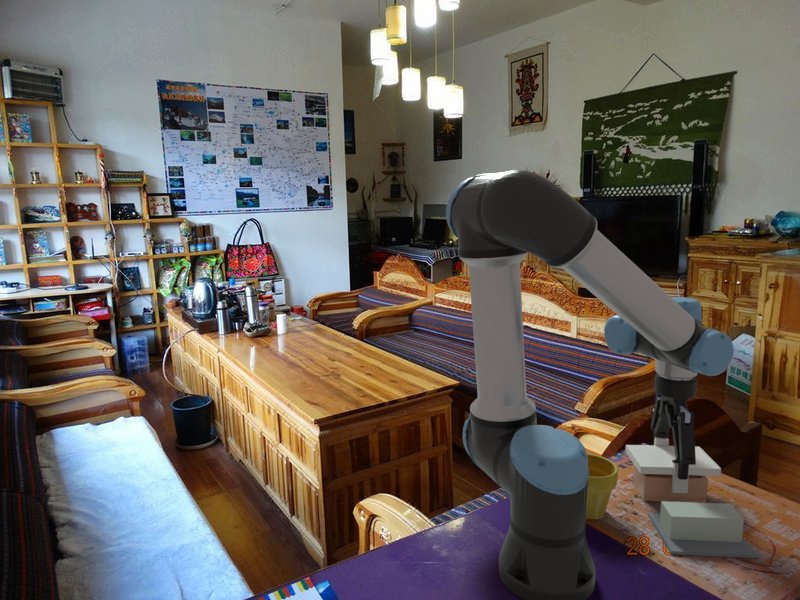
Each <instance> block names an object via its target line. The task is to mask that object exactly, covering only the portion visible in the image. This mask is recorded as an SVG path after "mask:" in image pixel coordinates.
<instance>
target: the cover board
mask: <svg viewBox="0 0 800 600" xmlns="http://www.w3.org/2000/svg"><path fill="white" fill-rule="evenodd" d="M624 452H625V453H626V455H627V456H628V457H629V459H630V461H631V462H632V464H633V466H634V465H635V466H636V468H637V469H638V471H639V472H640V474H667V475H673V462H672V460H676V456H675V449H674V445H669V446H654V445H653V444H651V445H648V444H647V445H646V444H645V445H644V444H641V445H640V444H625V451H624ZM695 457H696V464H695V465H689V475H703V476H705V477H706V476H711V477H715V476H716V477H721V476H722V468H721V467H720V466H719V465H718V464H717V463H716V461H714V460H713V459H712V458H711V457H710V456H709V454H707V453H706V452H705V451H704V449H702V448H701V446H696V445H695Z"/></svg>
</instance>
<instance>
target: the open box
mask: <svg viewBox="0 0 800 600" xmlns="http://www.w3.org/2000/svg"><path fill="white" fill-rule="evenodd" d="M632 475H633V477H632V478H633V479H632V485H633V486H634V488H635V489H636V491H637V493H638V495H640V497H641V499H642V500H643V502H645V501H646V502H661V501H665V502H695V503H707V498H708V485H709V479H708V477H706V476H703V475H689V478H688V492H687V493H673V492H672V476H673V475H667V474H640V472H639V471H638V469H637V468H636V466H635V465H634V464H633V474H632Z"/></svg>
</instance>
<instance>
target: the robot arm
mask: <svg viewBox="0 0 800 600" xmlns="http://www.w3.org/2000/svg"><path fill="white" fill-rule="evenodd" d="M445 210H446V211H445V216H446V223H447V225H448V228H449V231H451V232H452V234H453V235H454V237H456V238H457V247H458V248H457V249H458V257H459V260H461V262H463V263H464V264H466V265H467V267H468V272H469V288H470V289H469V290H470V301H471V315H472V316H471V317H472V319H471V320H472V329H473V330H472V331H473V343H474V344H473V345H474V347H473V348H474V362H475V375H476V377H475V378H476V390H477V391H476V392H477V398H475V400H473V401H472V403H471V404H470V407H469V411H470V413H469V415H468V416H469V417H468V418H467V419H466V420H465V421H464V423H463V424H464V425H463V428H462V443H463V446H464V448H465V451H466V453H467V454H468V456H469V457H470V459H471V461H472V462H473V463H474V464H475V465H476V466H477V468H479V469H481V470H482V471H483V472H484V473H485V474H486V475H487V476H488V477H489V478H490V479H492V481H494V483H496V484H497V485H498V486H499V487H500V488H501V489H503V491H504V492H506V493H507V494H508V495H509V497H510V502H509V504H510V507H509V509H510V515H509V516H510V517H509V519H510V520H509V522H510V523H509V528H508V531H507V533H506V536H505V539H504V541H503V543H502V546H501V549H500V552H499V556H498V574H499V577H500V580H501V581H502V583H503V584H504V586H505V587H506V588H507V589H508V590H509V591H510V593H513V594H514V595H516V596H517V597H519V598H520V599H523V600H587V599H589V598H590V596H591V595H592V594H593V592H594V590H595V586H596V567H595V563H594V560H593V557H592V553H591V550H590V547H589V545H588V541H587V537H586V522H587V519H586V507H587V489H588V476H589V469H588V459H587V450H586V448H585V446H584V444H583V443H582V442H581V441H580V439H578V438H577V437H576V436H575V435H573V434H572V433H570V432H569V431H567V430H564V429H562V428H554V426H551V425H544V424H537V422H538V421H537V407H536V403H535V402H534V401H533V400H531V398H530V397H529V396H528V395H527V381H526V379H527V377H526V363H525V360H526V359H525V341H524V339H525V338H524V337H525V336H524V321H523V320H524V319H523V303H522V302H523V300H522V299H523V298H522V282H521V279H522V278H521V262H522V261H524V260H525V258H526V257H527V255H528V254H532V255H533V256H535V257H536V258H538V259H539V260H541V261H543V263H544V264H546V265H547V266H548V267H550V268H553V269H554V268H561V269H562V270H564V271H565V272H566V273H567V274H568V275H570V276H571V277H572V278H573V279H574V280H576V281H577V282H578V283H579V284H580V285H581V286H583V287H584V288H585V289H586V290H587V291H589V292H590V293H591V294H592V295H593V296H595V297H596V298H597V299H598V300H599V301H600V302H602V303H603V304H604V305H605V306H606V307H608V308H609V309H611V311H613V312H614V313H615V315H612V316H610V317H609V318H608V319H607V321H606V322H605V323H604V329H603V330H604V331H603V337H604V341H605V344H606V346H607V348H608V349H609V350H610V351H611V352H613V353H614V354H618V355H631V354H640V355H643V356H646V357H649V358H651V359H655V363H654V364H655V365H654V371H655V372H656V374H655V375H654V386H653V387H654V388H653V389H654V392H655V400H654V407H653V413H652V417H651V421H650V430H651V431H653V434H652V435H653V436H654V440H653V441H654V442H653V446H670V445H669V444H670V443H669V442H670V439H669V438H668V437H671V434H672V440H673V446H674V449H675V456H676V460H672V462H673V476H672V492H673V493H687V492H688V478H689V465H695V464H696V457H695V446H696V442H695V441H696V440H695V438H696V437H695V412H694V411H689V407H688V403H687V402H688V400H689V399H692V398H694V397H696V395H697V387H698V379H697V377H696V376H698V374H700V375H704V376H708V377H713V376H718V375H720V374H722V373H724V372H725V371H726V370H727V369H728V367H729V366H730V364H731V362H732V360H733V358H734V349H735V348H734V343H733V341H732V339H731V337H729V335H727V334H726V333H724V332H721V331H718V330H717V329H714V328H709V327H708V328H707V327H706V326H704V325H702V323H703V320H702V319H703V318H702V303H701V301H699V300H697V299H695V298H692V297H684V296H670V295H669V294H668V292H666V291H664V289H663V288H662V287H661V286H659V285H658V284H657V283H656V282H655V281H654V280H653V279H652V278H650V277H649V276H648V275H647V274H646V273H645V272H644V271H643V270H642V269H641V268H640V267H639V266H638V265H637V264H635V263H634V262H633V261H632V260H631V259H630V258H629V257H627V255H626V254H625V253H623V252H622V251H621V250H620V249H619V248H618V247H617V246H616V245H615V244H613V243H612V241H610V239H608V238H607V237H606V236H605V235H604V234H603V233H601V231H599V229H598V221H597V218H596V217H595V216H594V215H592V213H590V212H589V211H588V209H586V208H585V207H584V206H583V205H582V204H580V202H578V200H576V199H575V198H574V197H573V196H572V195H570V194H569V193H568V192H567V191H565V190H564V189H562V188H561V187H560V186H558V185H557V184H555V182H553V181H551V180H550V179H548V178H547V177H544V176H542V175H540V174H538V173H536V172H533V171H529V170H523V169H516V170H515V169H513V170H508V171H501V172H493V173H486V172H485V173H482V174H481V173H480V174H476V175H475V176H472V177H468V178H467V179H464V180H463V181H461V182H460V183H459V184H458V185H457V186H456V187H455V188H454V190H453V191H452V192H451V194H450V195H449V198H448V200H447V205H446V209H445ZM670 430H671V432H672V433H670Z"/></svg>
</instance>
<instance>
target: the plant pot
mask: <svg viewBox="0 0 800 600" xmlns="http://www.w3.org/2000/svg"><path fill="white" fill-rule="evenodd" d="M587 459H588V469H589V476H588V489H587V507H586V520H588V519H596V518H600V519H602V518H603V517H604V516H605V515H604V514H606V511H607V509H608V508H607V507H608V505H609V501H610V499H611V498H610V497H611V496H612V495H611V494H612V491H613V490H614V489H616V487H617V485H618V476H619V470H618V465H616V464H615V463H614V462H613V461H612V460H610V459H608V458H606V457H605V456H601V455H598V454H593V453H587ZM602 516H603V517H602ZM601 517H602V518H601ZM596 520H597V519H596Z"/></svg>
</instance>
